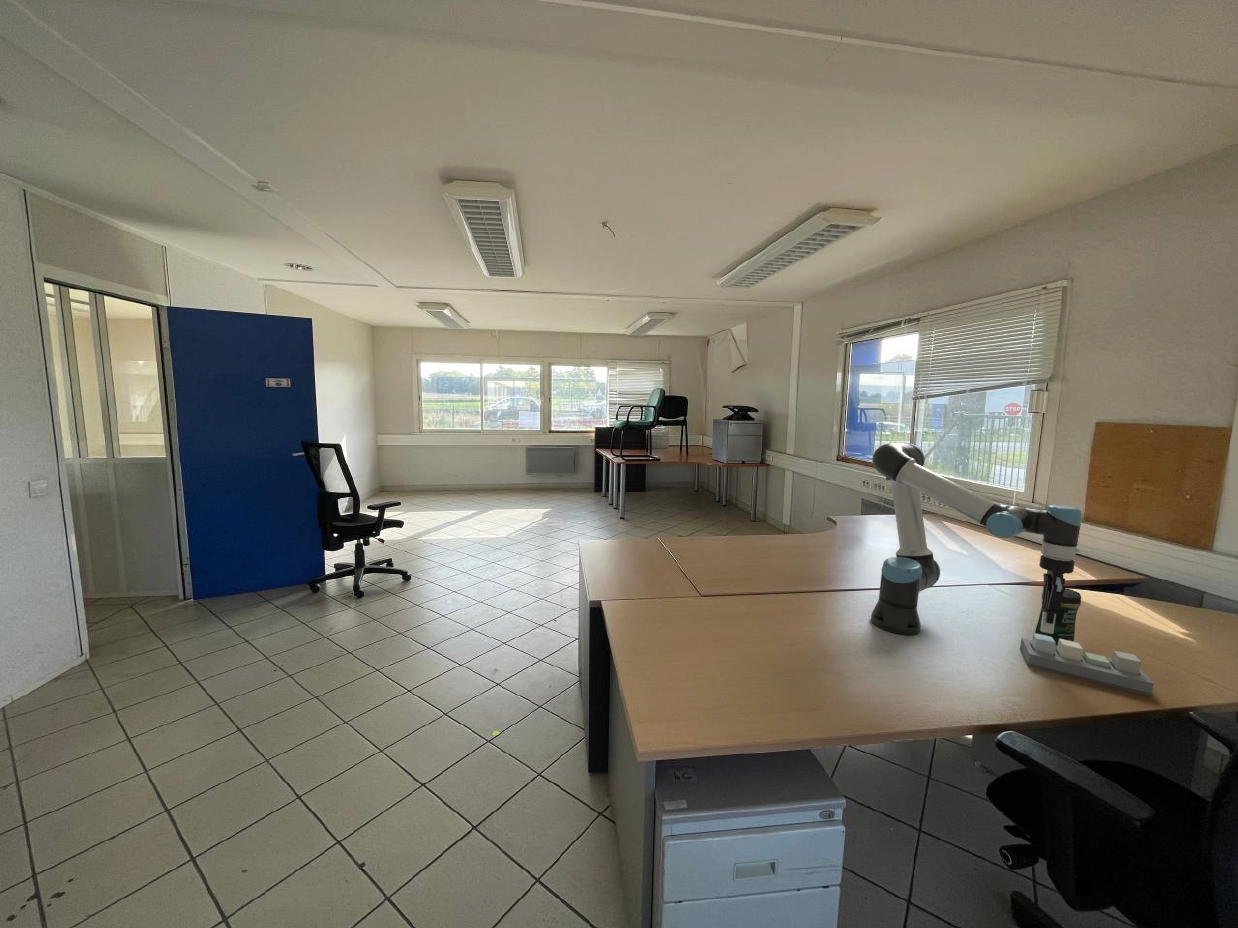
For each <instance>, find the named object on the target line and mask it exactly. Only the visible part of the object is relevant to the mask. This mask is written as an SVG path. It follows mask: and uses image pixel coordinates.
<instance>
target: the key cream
mask: <svg viewBox="0 0 1238 928" xmlns="http://www.w3.org/2000/svg"><path fill="white" fill-rule="evenodd" d="M1082 651H1083V652H1084V648H1083V647H1082V646H1081V644H1080V643H1079V642H1076V641H1074V642H1073V641H1068V640H1064V639H1059V641H1058V647H1057V652H1058V653H1059V655H1060V657H1063V658H1068V659H1072V660H1076V661H1081V657H1082Z"/></svg>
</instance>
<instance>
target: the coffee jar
mask: <svg viewBox="0 0 1238 928" xmlns="http://www.w3.org/2000/svg"><path fill="white" fill-rule="evenodd" d="M1042 597H1043V592H1042V594H1041V598H1042ZM1081 605H1082V596H1081V593H1080V592H1078V591H1076V590H1073V589H1070V588H1068V587H1067V588H1066V589H1065V591H1064V594H1063V598H1062V602H1061V606H1060V610H1059V614H1056V618H1055V625H1054V632H1053V634H1051V633H1046V632H1041V630H1040V628H1041V621H1042V615H1043V611H1042V609H1043V605H1042V604H1041V609H1040V612H1039V616H1038V621H1037V623H1036V626H1035V627H1036V628H1035V631H1034V633H1036V634H1041V635H1045V636H1050V637H1052V638H1053V639H1054V641H1055V643H1056V644H1055V645H1056V646H1058V641H1059V639H1064V640H1068V641H1073V642H1075V633H1076V631H1075V630H1076V622H1077V621H1076V620H1077V619H1076V618H1077V614H1078V611H1079V608H1080V607H1081Z"/></svg>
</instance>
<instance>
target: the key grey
mask: <svg viewBox="0 0 1238 928" xmlns="http://www.w3.org/2000/svg"><path fill="white" fill-rule="evenodd" d="M1112 651H1113V653H1112V656H1111V658H1112V661H1111V664H1112V665H1113V666H1114V667H1115V669H1116V670H1119V671H1123V672H1127V673H1132V674H1136V675H1139V671H1140V668H1141V664H1142V661H1141V660H1140V658H1138V657H1137V656H1136V655H1135V654H1131V653H1127V652H1124V651H1123V652H1122V651H1117V650H1112Z"/></svg>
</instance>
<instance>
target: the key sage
mask: <svg viewBox="0 0 1238 928" xmlns="http://www.w3.org/2000/svg"><path fill="white" fill-rule="evenodd" d="M1083 652H1084V656H1083V658H1084V660H1085V661H1086V663H1089V664H1093V665H1098V666H1102V667H1106V668H1109V665H1110V663H1109V661H1108V660H1107V659H1106V657H1107V656H1104V655H1101V654H1098V653H1097V654H1096V653H1091V652H1088V651H1087V652H1086V651H1083Z"/></svg>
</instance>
